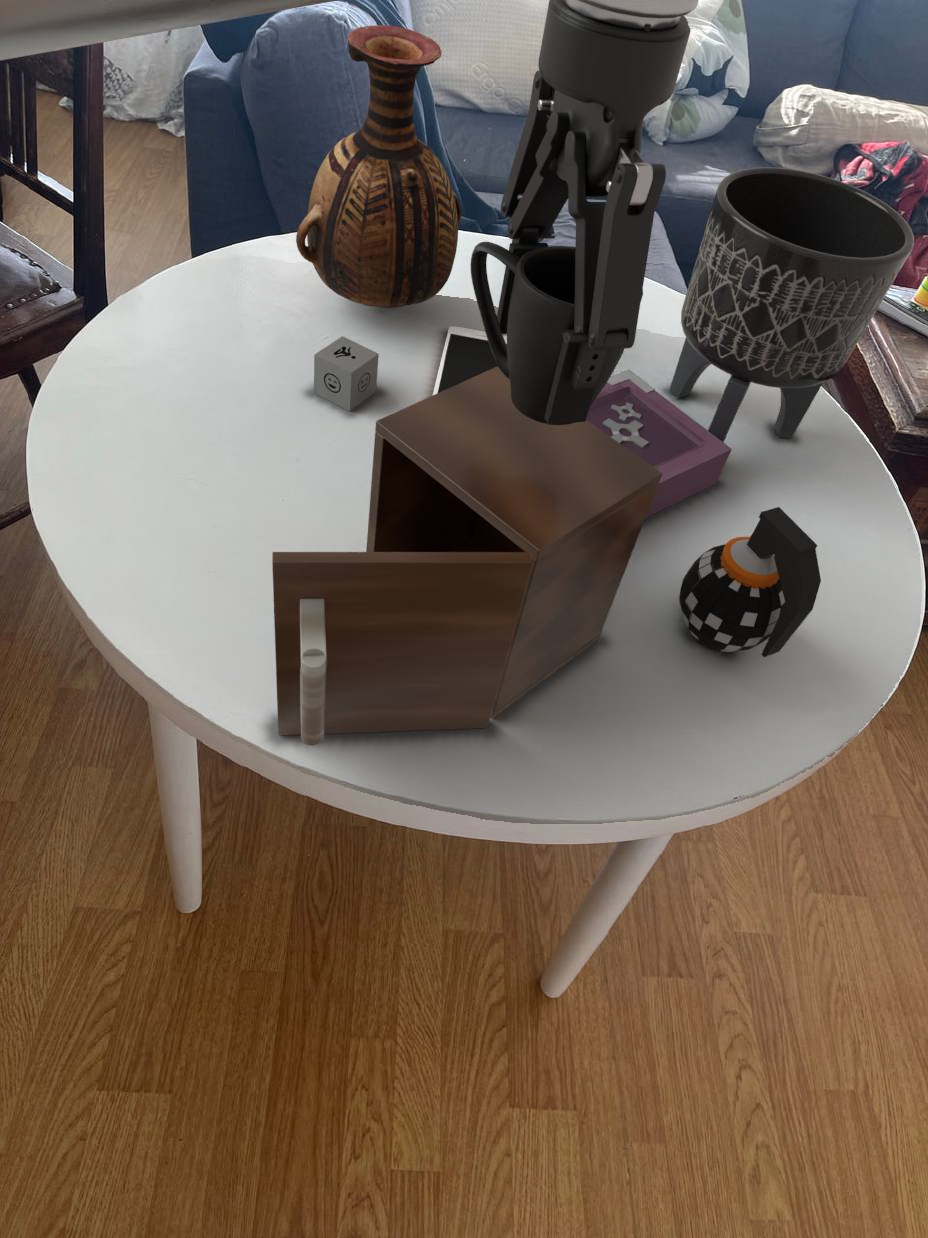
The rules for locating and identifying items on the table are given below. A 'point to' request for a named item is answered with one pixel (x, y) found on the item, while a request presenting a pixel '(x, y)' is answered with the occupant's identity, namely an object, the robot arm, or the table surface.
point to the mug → (532, 321)
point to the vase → (384, 188)
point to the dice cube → (345, 373)
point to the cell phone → (464, 357)
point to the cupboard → (514, 510)
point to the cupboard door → (392, 638)
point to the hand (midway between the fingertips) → (537, 372)
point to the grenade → (752, 587)
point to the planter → (785, 286)
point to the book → (659, 437)
